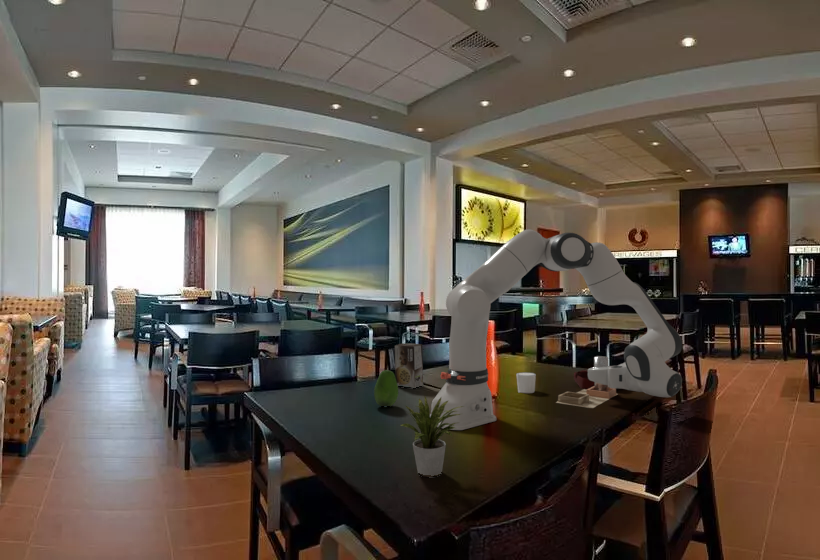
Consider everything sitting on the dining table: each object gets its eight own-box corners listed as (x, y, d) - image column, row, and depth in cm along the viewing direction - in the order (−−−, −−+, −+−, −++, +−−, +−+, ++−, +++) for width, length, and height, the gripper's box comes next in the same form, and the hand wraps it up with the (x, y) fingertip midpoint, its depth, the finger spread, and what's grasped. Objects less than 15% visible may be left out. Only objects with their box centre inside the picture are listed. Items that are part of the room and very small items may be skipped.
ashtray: (561, 388, 189) (561, 374, 188) (584, 381, 199) (584, 369, 199) (606, 396, 175) (606, 381, 175) (628, 388, 186) (628, 375, 186)
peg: (606, 394, 169) (606, 358, 169) (592, 392, 172) (592, 357, 172) (609, 391, 173) (609, 356, 173) (596, 390, 175) (595, 355, 175)
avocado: (398, 409, 159) (397, 371, 159) (373, 410, 159) (372, 372, 159) (398, 403, 167) (398, 367, 167) (375, 403, 167) (374, 367, 167)
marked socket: (608, 398, 167) (608, 392, 167) (586, 395, 172) (586, 389, 172) (616, 394, 173) (616, 388, 173) (594, 391, 177) (594, 385, 177)
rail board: (592, 410, 155) (592, 401, 155) (555, 404, 163) (555, 396, 163) (618, 396, 174) (618, 388, 173) (583, 391, 181) (583, 383, 181)
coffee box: (423, 386, 194) (423, 344, 194) (415, 389, 189) (414, 346, 189) (403, 383, 199) (403, 342, 199) (394, 386, 193) (394, 344, 193)
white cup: (538, 395, 176) (537, 375, 176) (518, 395, 176) (518, 375, 176) (533, 391, 183) (533, 371, 183) (514, 391, 183) (514, 372, 183)
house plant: (451, 493, 97) (450, 408, 97) (386, 483, 102) (385, 402, 102) (470, 467, 110) (470, 392, 110) (411, 459, 115) (411, 388, 115)
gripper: (654, 363, 165) (621, 357, 177) (607, 368, 156) (576, 362, 169) (655, 382, 165) (621, 375, 177) (607, 388, 156) (576, 380, 169)
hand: (599, 369), depth 173 cm, fingers closed on peg, 4 cm apart
